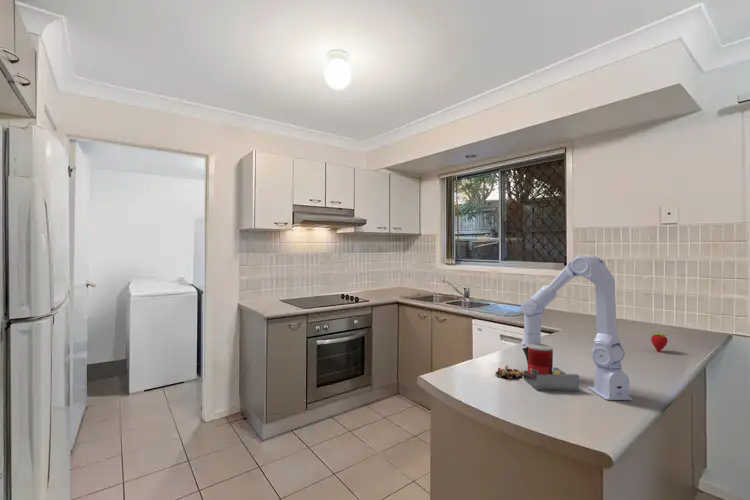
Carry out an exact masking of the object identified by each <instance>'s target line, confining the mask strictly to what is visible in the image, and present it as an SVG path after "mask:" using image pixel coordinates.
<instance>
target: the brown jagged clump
mask: <svg viewBox="0 0 750 500" xmlns="http://www.w3.org/2000/svg"><path fill="white" fill-rule="evenodd" d="M494 374H495V376H498V377H499V378H500V377H505V378H507V379H506V382H511V381H514V378H513V377H514V376H515V377H516V378H518V377H521V378H523V377H524V371H523V370H520V369H515V368H509V366H508V364H506V365H505V366H504V368H501V367H498V368H497V370H496V371H495V372H494Z"/></svg>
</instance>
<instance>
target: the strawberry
mask: <svg viewBox="0 0 750 500" xmlns="http://www.w3.org/2000/svg"><path fill="white" fill-rule="evenodd" d="M650 342H651V343H652V346H653V347H654V349H655V350H656V351H657V352H661V351H662V350H663V349H664V348H665V347H666V346H667V344H668V338H667V335H666V334H664V333H661V332H660V331H658V333H657V332H656V333H655V332H652V335H651V338H650Z"/></svg>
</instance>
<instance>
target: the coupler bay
mask: <svg viewBox="0 0 750 500" xmlns="http://www.w3.org/2000/svg"><path fill="white" fill-rule="evenodd" d="M523 372H524V376H523V380H524V381H525V382H526V383H528V384H529V385H530V386H531V387H532V388H533V389H535V391H542V392H543V391H551V392H552V391H553V392H556V391H557V392H579V390H580V389H579V387H580V382H579V381H580V375H579V374H576V373H573V374H572V373H566V372H564V371H562V370H561V369H559V368H558V367H553V368H552V374H535V376H533V375H532V374H531V373H530V372H528V370H523Z"/></svg>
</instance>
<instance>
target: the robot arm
mask: <svg viewBox="0 0 750 500" xmlns="http://www.w3.org/2000/svg"><path fill="white" fill-rule="evenodd" d="M577 277H583V278H585V279H586V280H588V281H589V282H590V283H592V284H593V285H594V288H595V315H596V316H595V317H596V335H595V337H594V340H593V346H592V349H591V351H590V355H591V359H592V361H593V363H594V370H593V371H594V373H593V374H594V375H593V376H594V377H593V378H594V381H593V382H594V383H593V386H587V388H588V389H589V390H590V391H592V392H593V393H595V394H597V395H598V396H599V397H601V398H603V399H604V400H608V401H609V400H610V401H611V400H612V401H632V400H633V399H632V397H630V379H629V377H628V375H627V374H626V373H625V372H624V371H623V368H622V367H623V366H622V363H621V362H622V361H623V360H624V358H625V356H626V355H625V354H626V352H625V350H624V348H623V345H622V340H621V338H620V337H619V336H618V333H617V331H618V330H617V310H616V309H617V308H616V307H617V306H616V304H617V303H616V283H615V282H616V280H615V277H614V275H613V273H611V271H610V270H609V268H608V267H607V263H606V261H605V260H602V259H601V258H600V257H598V256H595V255H590V256H587V255H585V256H583V255H577V256H575V257H574V258H572V260H571V261H569V262H568V263H567V264H566V266H565V267H564V268H563V269H562V270H561V271H560V272H559V273H558V275H557V276H556V277H555V278H554V279H553V280H552V281H551V282H550V283H549V284H548V285H545V284H544V285H541V286H539V287H538V288H537V289H538V290H537V291H536V292H535V293H534V294H533V295H530V297H529V299H525V300H523V302H522V303H521V308H520V309H521V311H522V313H523V314H524V315H523V323H524V324H523V325H524V327H523V338H521V343H520V346H523V348H522V351H523V353H524V356H525V359H526V362H527V364H528V345H529V344H542V342H541V341H542V339H541V337H542V335H541V334H542V333H541V332H542V315H543V313H544V311H545V308H546V307H548V306H549V305H550V303H552V302H553V301H554V300H555V299H556V298H557V296H558V295H557V294H558V293H557V292H558V291H560V289H562V288H563V287H564V286H566V284H567V283H569V282H570V281H571V280H572V279H574V278H577Z"/></svg>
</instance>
